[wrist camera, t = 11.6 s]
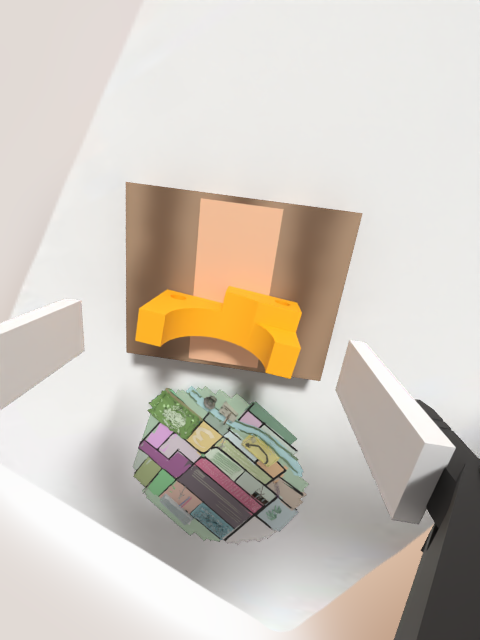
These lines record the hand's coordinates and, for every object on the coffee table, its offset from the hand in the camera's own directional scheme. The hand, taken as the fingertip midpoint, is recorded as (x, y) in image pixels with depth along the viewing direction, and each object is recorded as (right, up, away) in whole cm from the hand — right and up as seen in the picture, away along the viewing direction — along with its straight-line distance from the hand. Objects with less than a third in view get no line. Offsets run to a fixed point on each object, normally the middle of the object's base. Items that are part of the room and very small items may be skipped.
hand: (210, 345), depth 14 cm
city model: (-2, -16, +23) cm, 28 cm away
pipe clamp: (0, +2, +13) cm, 13 cm away
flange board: (+1, +5, +15) cm, 16 cm away
